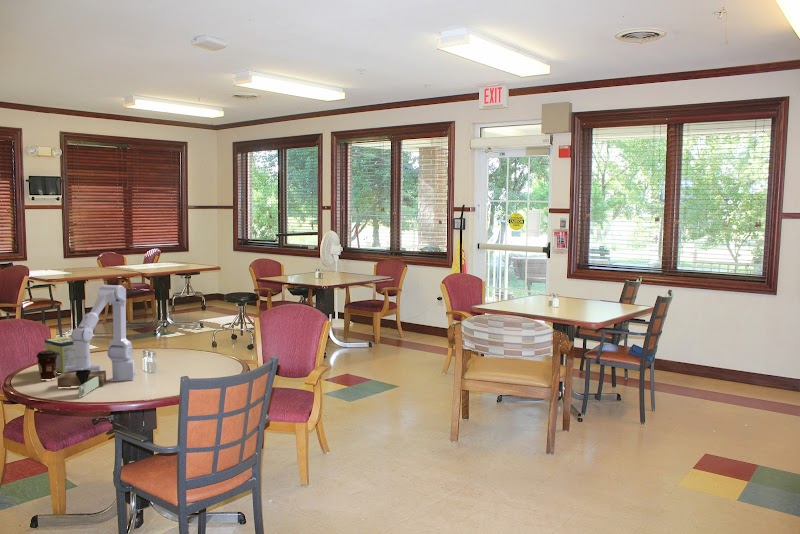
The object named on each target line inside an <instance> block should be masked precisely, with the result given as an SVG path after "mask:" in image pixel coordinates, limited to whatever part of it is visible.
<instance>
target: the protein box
mask: <svg viewBox="0 0 800 534" xmlns="http://www.w3.org/2000/svg"><path fill="white" fill-rule="evenodd" d="M48 350H50V351H55V352H56V354H57V355H58V356H57V365H56V372H57V373H61V374H62V373H72V372H77V371H67V372H65V369H64V367H66V366H75V365H76V364H75V346H74V344H73V340H72V339H71V336H70V337H69V336H67V335H65V336H59V337H53V338H48V339H46V338H45V339H44V351H48Z"/></svg>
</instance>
